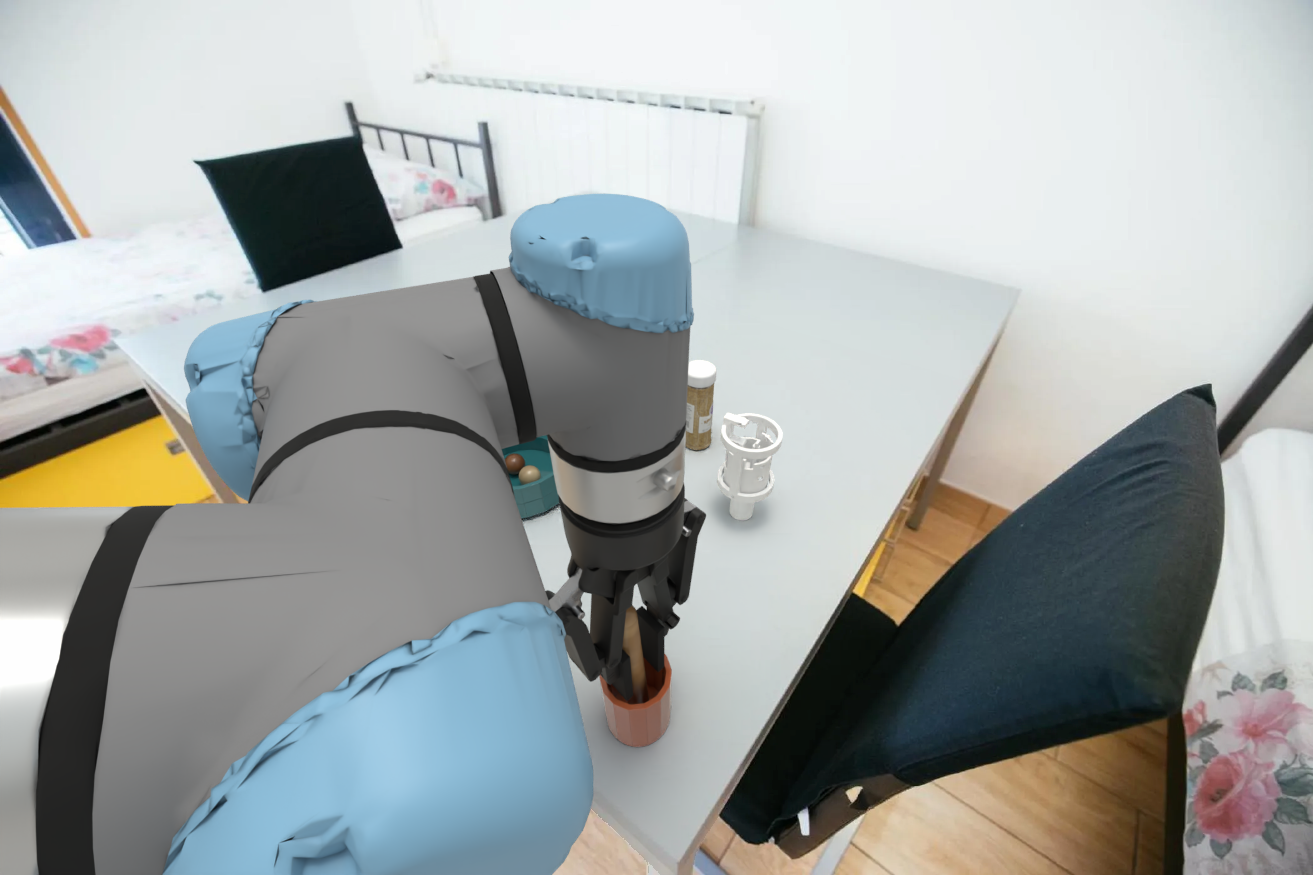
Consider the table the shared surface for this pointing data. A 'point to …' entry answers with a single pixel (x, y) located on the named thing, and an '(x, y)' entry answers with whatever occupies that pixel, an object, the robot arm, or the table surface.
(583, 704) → the table surface
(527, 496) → the bowl
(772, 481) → the white cylindrical cage
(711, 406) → the sprinkles bottle
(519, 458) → the bead
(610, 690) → the utensil pot
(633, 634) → the stick
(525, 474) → the bead
